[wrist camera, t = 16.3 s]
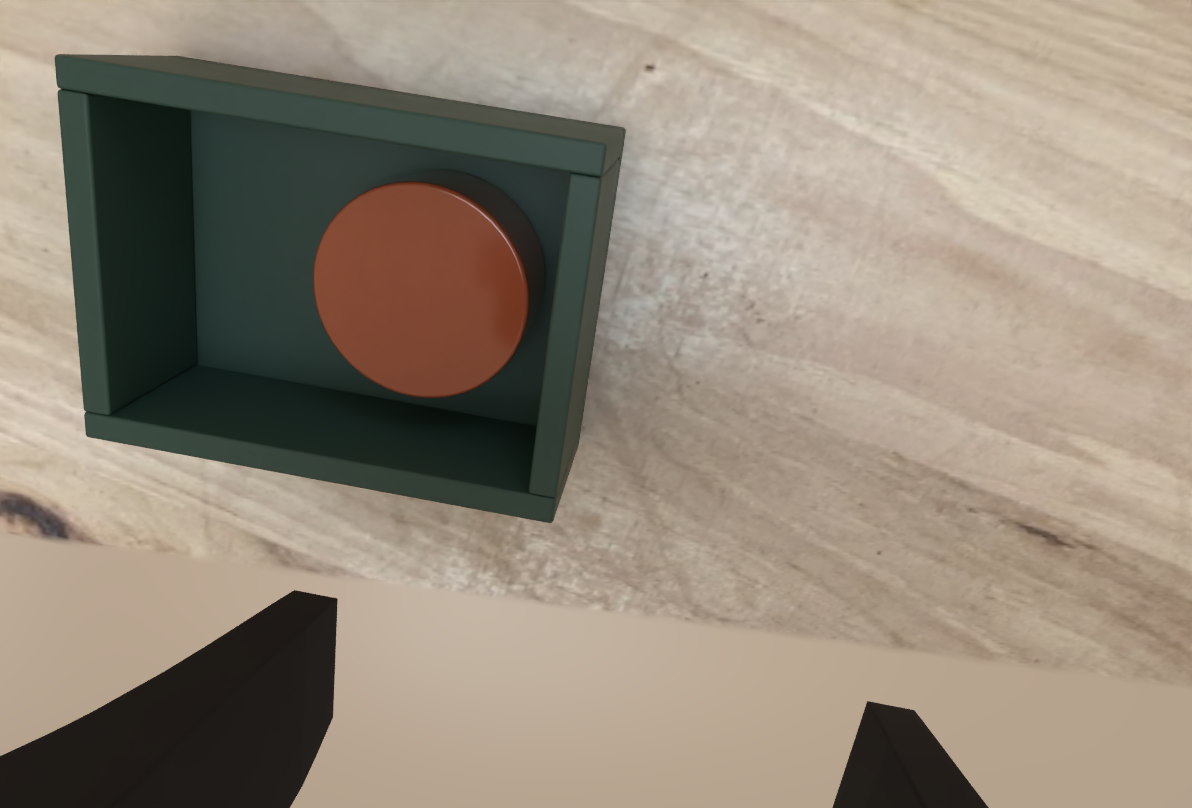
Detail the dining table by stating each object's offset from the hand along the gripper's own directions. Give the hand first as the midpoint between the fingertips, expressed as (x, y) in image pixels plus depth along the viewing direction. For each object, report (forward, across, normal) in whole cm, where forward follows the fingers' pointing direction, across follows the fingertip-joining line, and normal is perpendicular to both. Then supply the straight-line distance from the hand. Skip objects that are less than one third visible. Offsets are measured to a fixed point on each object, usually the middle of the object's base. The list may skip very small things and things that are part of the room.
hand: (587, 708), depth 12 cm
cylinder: (+10, +5, -3) cm, 11 cm away
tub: (+10, +6, -3) cm, 13 cm away
